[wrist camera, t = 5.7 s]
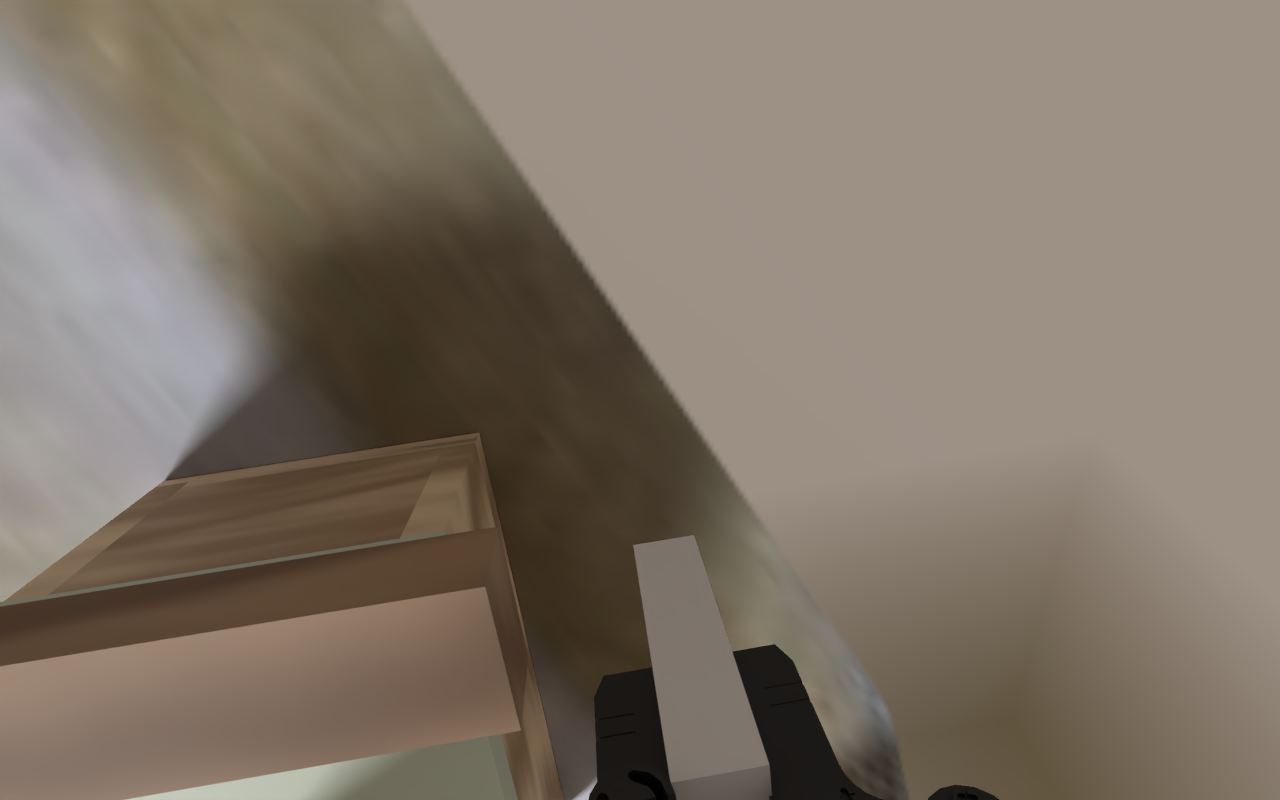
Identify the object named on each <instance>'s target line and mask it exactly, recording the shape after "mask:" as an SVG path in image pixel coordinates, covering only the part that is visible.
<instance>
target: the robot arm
mask: <svg viewBox="0 0 1280 800" xmlns="http://www.w3.org/2000/svg"><path fill="white" fill-rule="evenodd" d="M633 547H634V554H635V560H636V567H637V573H638V579H639V586H640V592H641V598H642V605H643V611H644V617H645V624H646V630H647V637H648V643H649V649H650V656H651V662H652V668H647V669H641V670H636V671H630V672H624V673H619V674H613V675H607V676H604V677H603V679H602V681H601V683H600V686H599V688H598V690H597V692H596V695H595V697H594V702H595V722H596V724H595V728H596V754H597V780H598V782H597V784H596V785H595V787H594V788H593V790H592V792H591V793H590V796H589V800H882V799H879V798H876V797H874V796H872V795H870V794H867V793H866V792H864V791H863V790H861V789H860V788H858V787H857V786H855V785H854V784H853V783H852V782H851V781H850V780H849V779H848V777H847V776H846V775H845V774H844V772H843V770H842V769H841V767H840V766H839V764H838V761H837V759H836V757H835V755H834V752H833V750H832V748H831V746H830V743H829V741H828V739H827V737H826V734H825V732H824V730H823V728H822V725H821V723H820V721H819V719H818V716H817V714H816V712H815V710H814V707H813V705H812V703H811V702H810V699H809V696H808V694H807V692H806V689H805V687H804V685H803V684H802V680H801V678H800V676H799V674H798V671H797V669H796V667H795V665H794V662H793V660H792V659H790V658H789V657H788V656H787V655H786V654H785V653H784V652H783V651H782V650H780V649H779V648H778V647H777V646H776V645H775V644H774V645H768V646H763V647H757V648H751V649H746V650H740V651H734V652H732V649H731V646H730V643H729V640H728V637H727V634H726V631H725V628H724V625H723V622H722V619H721V616H720V613H719V610H718V607H717V604H716V601H715V597H714V594H713V591H712V588H711V585H710V582H709V579H708V576H707V573H706V570H705V567H704V564H703V561H702V558H701V555H700V552H699V549H698V546H697V543H696V540H695V537H694V535H691V536H685V537H679V538H673V539H667V540H661V541H655V542H649V543H643V544H637V545H633ZM928 800H999V799H997V798H996V797H995V796H993V795H992V794H989V793H987V792H984V791H982V790H979V789H977V788H975V787H969V786H961V785H953V786H949V787H945V788H941V789H939V790H938V791H936V792H935V793H934V794H933V795H932V796H930V797H929V798H928Z"/></svg>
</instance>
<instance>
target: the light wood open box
mask: <svg viewBox="0 0 1280 800" xmlns="http://www.w3.org/2000/svg"><path fill="white" fill-rule="evenodd" d="M493 527H498V528H499V532H500V536H501V541H502V545H503V549H504V553H505V558H506V562H507V566H508V571H509V575H510V579H511V584H512V588H513V592H514V597H515V601H516V605H517V609H518V614H519V618H520V622H521V627H522V631H523V635H524V640H525V644H526V648H527V653H528V664H527V674H526V684H525V694H524V705H523V715H522V725H521V731H516V732H510V733H504V734H501V737H502V741H503V745H504V749H505V753H506V756H507V760H508V764H509V768H510V772H511V775H512V779H513V783H514V787H515V791H516V794H517V798H518V800H564V798H563V794H562V789H561V785H560V781H559V776H558V772H557V768H556V763H555V759H554V755H553V750H552V746H551V742H550V737H549V733H548V729H547V724H546V720H545V716H544V711H543V707H542V703H541V698H540V694H539V690H538V685H537V681H536V676H535V672H534V668H533V663H532V659H531V655H530V650H529V646H528V642H527V637H526V633H525V629H524V624H523V620H522V616H521V611H520V607H519V603H518V598H517V594H516V590H515V585H514V581H513V577H512V572H511V568H510V564H509V559H508V555H507V551H506V546H505V542H504V538H503V533H502V529H501V525H500V520H499V516H498V512H497V507H496V503H495V499H494V494H493V490H492V486H491V481H490V477H489V473H488V468H487V464H486V459H485V455H484V451H483V446H482V442H481V438H480V433H473V434H466V435H460V436H453V437H447V438H440V439H434V440H427V441H421V442H414V443H408V444H401V445H395V446H388V447H382V448H375V449H369V450H362V451H356V452H349V453H343V454H337V455H330V456H324V457H317V458H311V459H304V460H298V461H291V462H285V463H278V464H272V465H265V466H259V467H252V468H246V469H239V470H233V471H226V472H220V473H213V474H207V475H200V476H194V477H187V478H181V479H174V480H168V481H163V482H162V483H161V484H159V485H158V486H157V487H155V488H154V489H153V490H151V491H150V492H149V493H147V494H146V495H145V496H143V497H142V498H141V499H139V500H138V501H137V502H135V503H134V504H133V505H131V506H130V507H129V508H127V509H126V510H125V511H123V512H122V513H121V514H119V515H118V516H117V517H115V518H114V519H113V520H111V521H110V522H109V523H107V524H106V525H105V526H103V527H102V528H101V529H99V530H98V531H97V532H95V533H94V534H93V535H91V536H90V537H89V538H88V539H86V540H85V541H84V542H82V543H81V544H80V545H78V546H77V547H76V548H74V549H73V550H72V551H70V552H69V553H68V554H66V555H65V556H64V557H62V558H61V559H60V560H58V561H57V562H56V563H54V564H53V565H52V566H50V567H49V568H48V569H46V570H45V571H44V572H42V573H41V574H40V575H38V576H37V577H36V578H34V579H33V580H32V581H30V582H29V583H28V584H26V585H25V586H24V587H22V588H21V589H20V590H18V591H17V592H16V593H14V594H13V595H12V596H10V597H9V598H8V599H6V600H5V601H4V602H7V601H13V600H19V599H26V598H32V597H38V596H44V595H50V594H57V593H63V592H69V591H75V590H82V589H88V588H94V587H100V586H107V585H113V584H119V583H125V582H132V581H138V580H144V579H150V578H157V577H163V576H169V575H175V574H182V573H188V572H194V571H200V570H206V569H213V568H219V567H225V566H231V565H238V564H244V563H250V562H256V561H263V560H269V559H275V558H281V557H288V556H294V555H300V554H306V553H313V552H319V551H325V550H331V549H338V548H344V547H350V546H356V545H362V544H369V543H375V542H381V541H387V540H394V539H400V538H406V537H412V536H419V535H425V534H431V533H437V532H444V531H447V532H448V535H449V534H456V533H462V532H468V531H474V530H481V529H487V528H493Z"/></svg>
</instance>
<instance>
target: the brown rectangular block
mask: <svg viewBox="0 0 1280 800" xmlns="http://www.w3.org/2000/svg"><path fill="white" fill-rule="evenodd" d="M527 664H528V653H527V648H526V644H525V640H524V635H523V631H522V627H521V622H520V618H519V614H518V609H517V605H516V601H515V597H514V592H513V588H512V584H511V579H510V575H509V571H508V566H507V562H506V558H505V553H504V549H503V545H502V541H501V536H500V532H499V528H498V527H493V528H487V529H481V530H474V531H468V532H462V533H456V534H449V535H443V536H437V537H431V538H424V539H418V540H412V541H406V542H400V543H393V544H387V545H381V546H375V547H368V548H362V549H356V550H350V551H344V552H337V553H331V554H325V555H319V556H312V557H306V558H300V559H294V560H287V561H281V562H275V563H269V564H263V565H256V566H250V567H244V568H238V569H231V570H225V571H219V572H213V573H206V574H200V575H194V576H188V577H182V578H175V579H169V580H163V581H157V582H150V583H144V584H138V585H132V586H125V587H119V588H113V589H107V590H101V591H94V592H88V593H82V594H76V595H69V596H63V597H57V598H51V599H45V600H38V601H32V602H26V603H20V604H13V605H7V606H1V607H0V800H126V799H131V798H137V797H143V796H149V795H154V794H160V793H166V792H172V791H177V790H183V789H189V788H194V787H200V786H206V785H212V784H217V783H223V782H229V781H235V780H240V779H246V778H252V777H258V776H263V775H269V774H275V773H281V772H286V771H292V770H298V769H304V768H309V767H315V766H321V765H326V764H332V763H338V762H344V761H349V760H355V759H361V758H367V757H372V756H378V755H384V754H390V753H395V752H401V751H407V750H413V749H418V748H424V747H430V746H435V745H441V744H447V743H453V742H458V741H464V740H470V739H476V738H481V737H487V736H493V735H499V734H504V733H510V732H516V731H521V725H522V715H523V705H524V694H525V684H526V674H527Z"/></svg>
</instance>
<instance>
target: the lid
mask: <svg viewBox="0 0 1280 800" xmlns="http://www.w3.org/2000/svg"><path fill="white" fill-rule="evenodd" d="M443 535H448V532H447V531H444V532H437V533H431V534H425V535H419V536H412V537H406V538H400V539H394V540H387V541H381V542H375V543H369V544H362V545H356V546H350V547H344V548H338V549H331V550H325V551H319V552H313V553H306V554H300V555H294V556H288V557H281V558H275V559H269V560H263V561H256V562H250V563H244V564H238V565H231V566H225V567H219V568H213V569H206V570H200V571H194V572H188V573H182V574H175V575H169V576H163V577H157V578H150V579H144V580H138V581H132V582H125V583H119V584H113V585H107V586H100V587H94V588H88V589H82V590H75V591H69V592H63V593H57V594H50V595H44V596H38V597H32V598H26V599H19V600H13V601H7V602H1V603H0V607H1V606H7V605H13V604H20V603H26V602H32V601H38V600H45V599H51V598H57V597H63V596H69V595H76V594H82V593H88V592H94V591H101V590H107V589H113V588H119V587H125V586H132V585H138V584H144V583H150V582H157V581H163V580H169V579H175V578H182V577H188V576H194V575H200V574H206V573H213V572H219V571H225V570H231V569H238V568H244V567H250V566H256V565H263V564H269V563H275V562H281V561H287V560H294V559H300V558H306V557H312V556H319V555H325V554H331V553H337V552H344V551H350V550H356V549H362V548H368V547H375V546H381V545H387V544H393V543H400V542H406V541H412V540H418V539H424V538H431V537H437V536H443ZM126 800H518V798H517V794H516V791H515V787H514V783H513V779H512V775H511V772H510V768H509V764H508V760H507V756H506V753H505V749H504V745H503V741H502V737H501V734H499V735H493V736H487V737H481V738H476V739H470V740H464V741H458V742H453V743H447V744H441V745H435V746H430V747H424V748H418V749H413V750H407V751H401V752H395V753H390V754H384V755H378V756H372V757H367V758H361V759H355V760H349V761H344V762H338V763H332V764H326V765H321V766H315V767H309V768H304V769H298V770H292V771H286V772H281V773H275V774H269V775H263V776H258V777H252V778H246V779H240V780H235V781H229V782H223V783H217V784H212V785H206V786H200V787H194V788H189V789H183V790H177V791H172V792H166V793H160V794H154V795H149V796H143V797H137V798H131V799H126Z"/></svg>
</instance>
